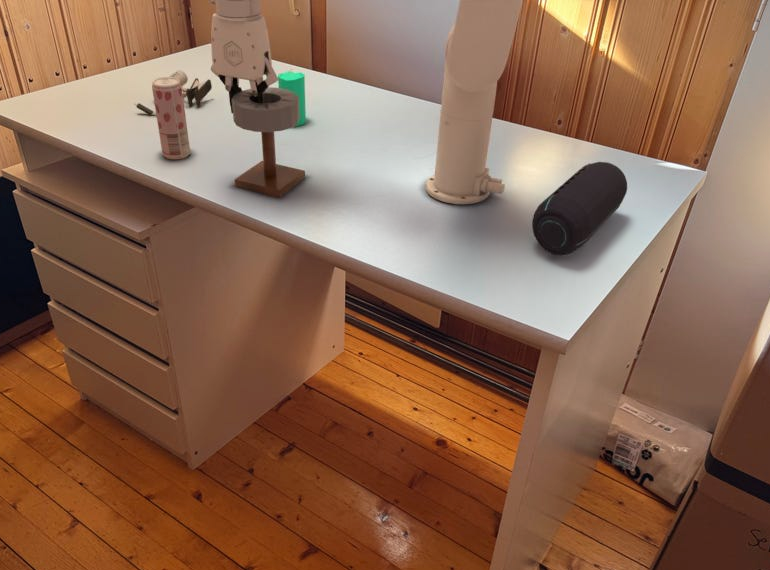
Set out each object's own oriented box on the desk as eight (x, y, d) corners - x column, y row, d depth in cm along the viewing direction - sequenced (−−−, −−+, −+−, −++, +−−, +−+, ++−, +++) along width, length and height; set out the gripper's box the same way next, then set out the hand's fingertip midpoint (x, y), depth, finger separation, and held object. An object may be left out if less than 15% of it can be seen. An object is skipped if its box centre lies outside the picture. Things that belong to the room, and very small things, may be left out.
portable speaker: (574, 199, 138) (586, 149, 132) (624, 213, 134) (639, 163, 127) (518, 251, 122) (528, 197, 115) (573, 270, 118) (587, 215, 111)
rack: (305, 177, 142) (303, 110, 133) (279, 197, 135) (276, 127, 126) (262, 167, 145) (257, 101, 137) (235, 186, 138) (228, 117, 129)
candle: (311, 121, 165) (310, 68, 158) (292, 128, 162) (290, 74, 154) (293, 114, 168) (292, 62, 161) (274, 121, 165) (271, 67, 157)
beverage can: (180, 146, 152) (169, 74, 142) (196, 154, 149) (186, 81, 139) (157, 154, 149) (145, 80, 139) (173, 162, 146) (161, 88, 136)
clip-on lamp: (170, 133, 165) (216, 94, 175) (163, 108, 160) (212, 70, 169) (131, 118, 169) (178, 81, 178) (123, 93, 163) (173, 57, 173)
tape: (310, 115, 135) (310, 93, 132) (278, 136, 126) (277, 114, 124) (256, 104, 138) (254, 83, 136) (221, 124, 130) (219, 102, 127)
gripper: (185, 5, 122) (198, 112, 133) (268, 18, 116) (275, 128, 128) (210, -4, 127) (221, 99, 138) (291, 8, 122) (295, 114, 133)
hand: (247, 112), depth 133 cm, fingers closed on tape, 3 cm apart
